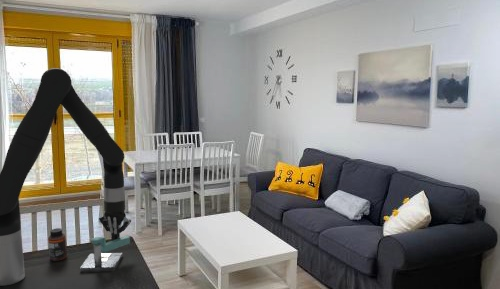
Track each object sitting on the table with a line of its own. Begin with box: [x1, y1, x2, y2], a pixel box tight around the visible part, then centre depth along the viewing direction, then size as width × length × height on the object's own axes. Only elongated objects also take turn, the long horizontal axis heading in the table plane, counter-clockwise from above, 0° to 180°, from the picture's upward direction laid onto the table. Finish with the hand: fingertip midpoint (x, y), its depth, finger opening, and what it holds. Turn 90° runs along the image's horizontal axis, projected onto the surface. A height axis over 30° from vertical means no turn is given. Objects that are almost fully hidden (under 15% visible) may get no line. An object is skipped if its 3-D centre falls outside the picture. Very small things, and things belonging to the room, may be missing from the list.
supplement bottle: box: [47, 227, 68, 262], centre depth 151 cm, size 6×6×11 cm
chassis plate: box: [79, 243, 123, 273], centre depth 147 cm, size 12×12×10 cm
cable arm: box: [90, 235, 131, 253], centre depth 146 cm, size 4×15×6 cm, turn 143°
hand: (115, 242), depth 151 cm, fingers closed
